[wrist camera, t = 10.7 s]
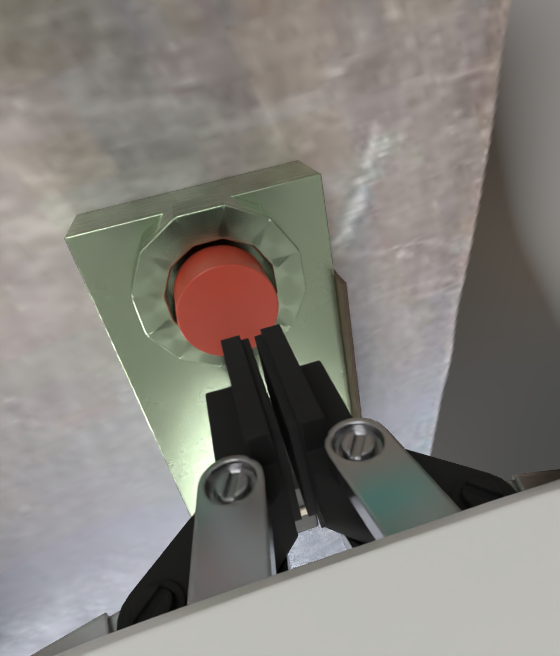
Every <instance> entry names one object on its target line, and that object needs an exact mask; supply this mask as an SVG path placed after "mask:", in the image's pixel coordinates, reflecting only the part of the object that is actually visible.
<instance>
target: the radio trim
mask: <svg viewBox="0 0 560 656" xmlns="http://www.w3.org/2000/svg"><path fill="white" fill-rule="evenodd" d="M333 270H334V269H333ZM334 278H335V285H336V293H337V301H338V308H339V316H340V324H341V332H342V339H343V347H344V355H345V362H346V370H347V378H348V386H349V393H350V401H351V409H352V416H353V418H362V416H361V407H360V398H359V390H358V381H357V372H356V364H355V355H354V346H353V338H352V329H351V321H350V312H349V303H348V295H347V286H346V282H345V281H344V280H343V279H342V278H341V277H340V276H339V275H338V274H337V273H336V272H335V270H334Z"/></svg>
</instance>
